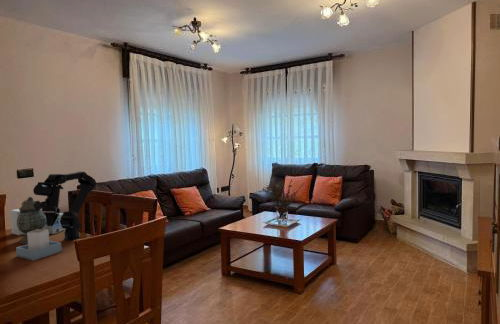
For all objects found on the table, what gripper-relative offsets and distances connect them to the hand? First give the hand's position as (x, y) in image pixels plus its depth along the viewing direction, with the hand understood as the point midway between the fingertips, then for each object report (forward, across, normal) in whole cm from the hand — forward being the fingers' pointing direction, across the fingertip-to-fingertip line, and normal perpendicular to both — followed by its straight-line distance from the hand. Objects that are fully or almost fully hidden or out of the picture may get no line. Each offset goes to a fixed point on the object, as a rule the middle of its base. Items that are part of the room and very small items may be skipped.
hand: (49, 226), depth 174 cm
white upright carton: (+13, +7, -2) cm, 15 cm away
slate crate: (+14, +7, -2) cm, 16 cm away
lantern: (+8, -24, -11) cm, 28 cm away
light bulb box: (+3, -37, -2) cm, 38 cm away
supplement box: (+4, -44, -21) cm, 49 cm away
